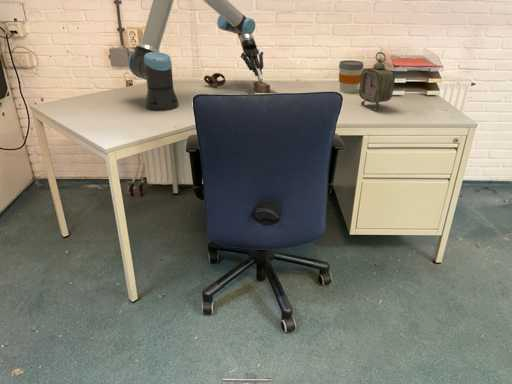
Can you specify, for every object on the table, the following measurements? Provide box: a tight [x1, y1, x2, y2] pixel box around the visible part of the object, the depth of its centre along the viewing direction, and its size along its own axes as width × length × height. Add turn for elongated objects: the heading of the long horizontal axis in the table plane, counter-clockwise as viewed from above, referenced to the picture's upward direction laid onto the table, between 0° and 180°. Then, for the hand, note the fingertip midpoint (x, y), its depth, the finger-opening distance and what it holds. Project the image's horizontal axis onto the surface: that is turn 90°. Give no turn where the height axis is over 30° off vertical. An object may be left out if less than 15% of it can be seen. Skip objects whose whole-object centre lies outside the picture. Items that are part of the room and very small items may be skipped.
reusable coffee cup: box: [338, 59, 364, 94], centre depth 215 cm, size 12×12×15 cm
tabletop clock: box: [358, 51, 396, 112], centre depth 184 cm, size 14×9×25 cm, turn 21°
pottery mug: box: [203, 72, 226, 89], centre depth 224 cm, size 12×10×8 cm
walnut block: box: [252, 80, 271, 93], centre depth 212 cm, size 4×4×11 cm
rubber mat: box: [244, 88, 278, 95], centre depth 213 cm, size 14×11×1 cm
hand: (260, 80), depth 211 cm, fingers closed
